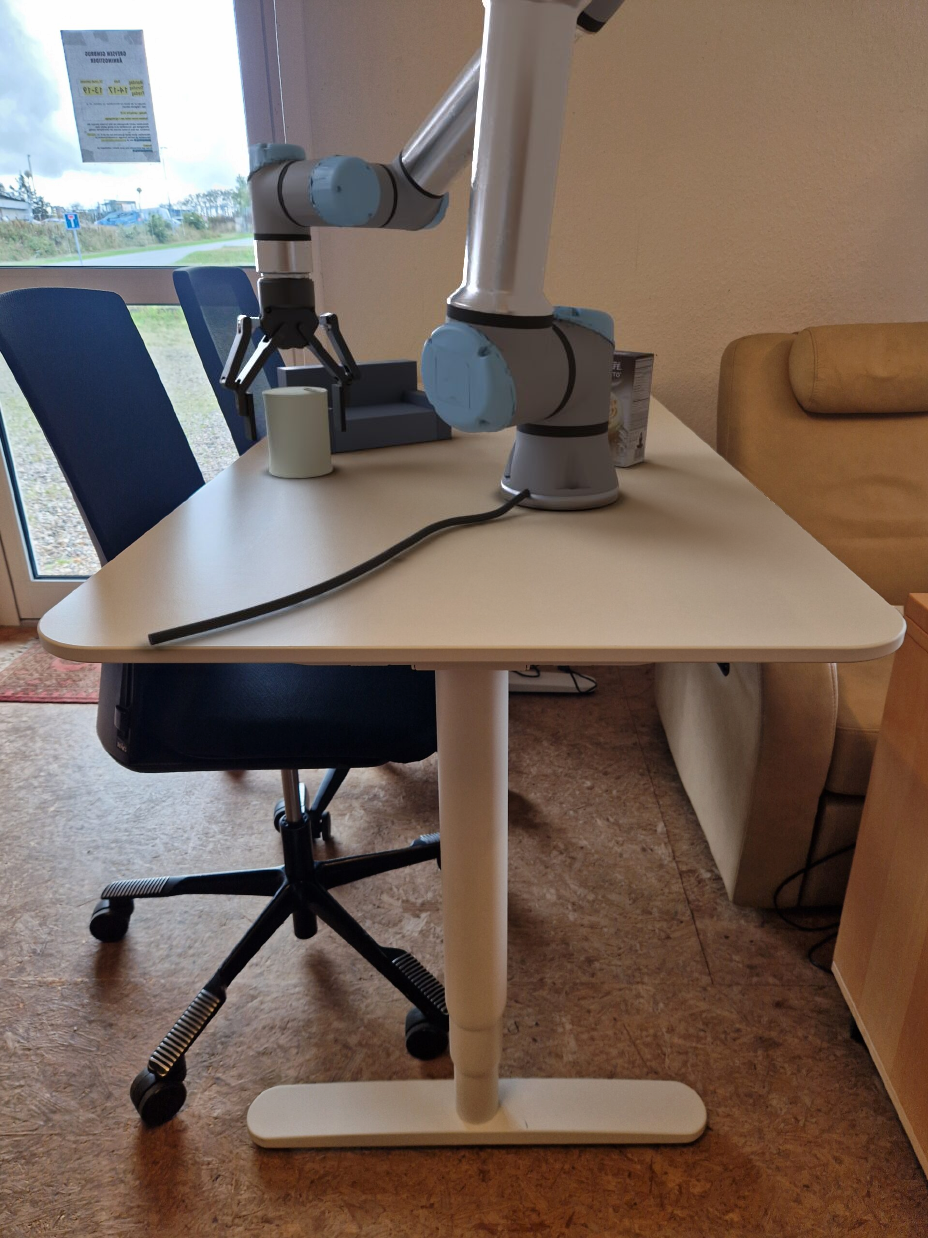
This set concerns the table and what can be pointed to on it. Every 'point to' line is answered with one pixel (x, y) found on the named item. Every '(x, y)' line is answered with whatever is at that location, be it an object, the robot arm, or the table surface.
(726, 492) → the table surface
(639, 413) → the coffee box
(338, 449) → the couch
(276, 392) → the can
